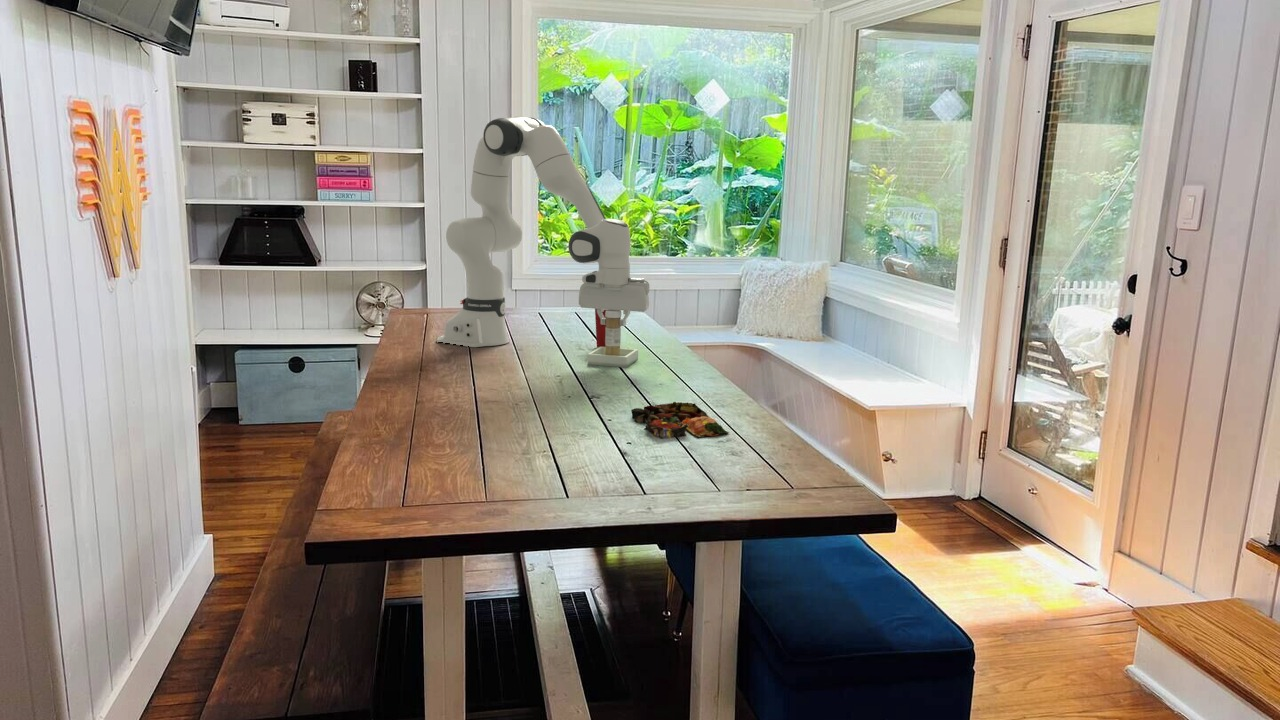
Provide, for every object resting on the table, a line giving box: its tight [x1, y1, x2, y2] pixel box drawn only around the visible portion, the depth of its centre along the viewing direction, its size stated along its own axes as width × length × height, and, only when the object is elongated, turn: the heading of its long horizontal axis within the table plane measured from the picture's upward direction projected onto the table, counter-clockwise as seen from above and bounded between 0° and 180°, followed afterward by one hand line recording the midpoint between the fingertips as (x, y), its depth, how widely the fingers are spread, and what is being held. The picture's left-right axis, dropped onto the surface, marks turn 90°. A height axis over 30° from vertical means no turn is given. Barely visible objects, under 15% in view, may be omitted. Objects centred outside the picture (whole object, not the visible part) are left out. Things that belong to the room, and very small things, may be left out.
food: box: [630, 401, 730, 440], centre depth 205 cm, size 22×19×4 cm
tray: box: [587, 347, 639, 368], centre depth 266 cm, size 12×12×3 cm
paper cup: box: [594, 309, 608, 349], centre depth 284 cm, size 8×8×14 cm
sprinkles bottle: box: [605, 310, 622, 356], centre depth 265 cm, size 5×5×14 cm
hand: (613, 325), depth 264 cm, fingers closed on sprinkles bottle, 4 cm apart
